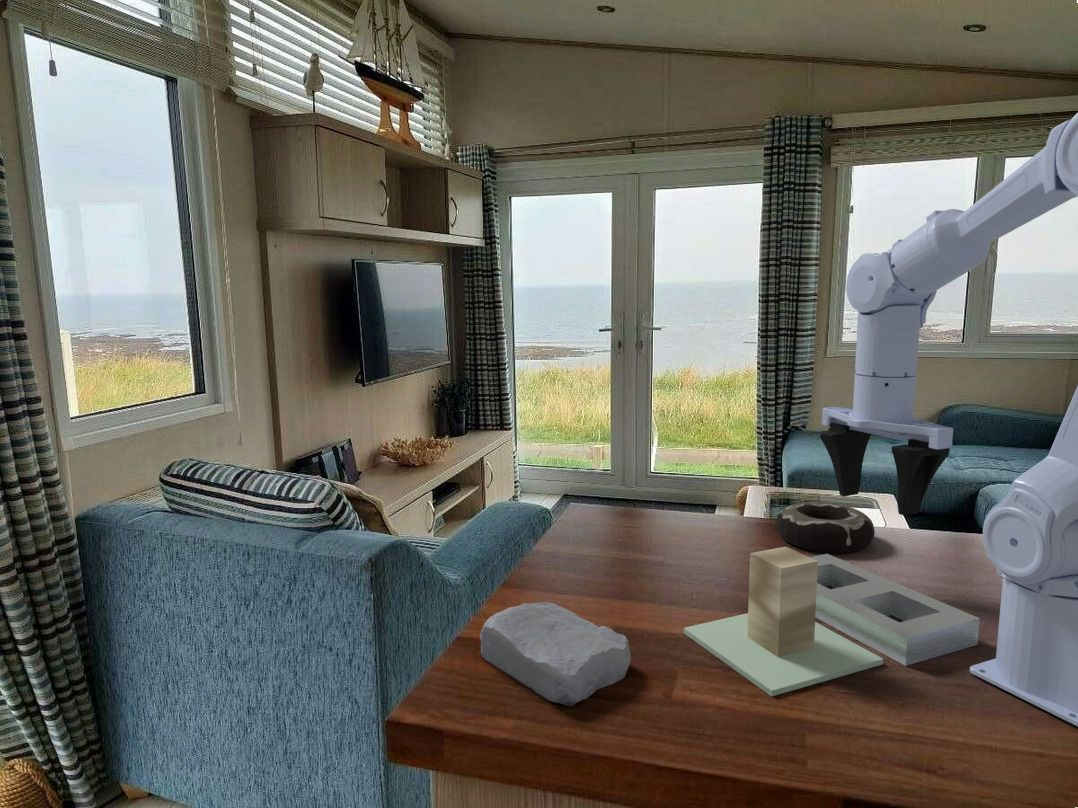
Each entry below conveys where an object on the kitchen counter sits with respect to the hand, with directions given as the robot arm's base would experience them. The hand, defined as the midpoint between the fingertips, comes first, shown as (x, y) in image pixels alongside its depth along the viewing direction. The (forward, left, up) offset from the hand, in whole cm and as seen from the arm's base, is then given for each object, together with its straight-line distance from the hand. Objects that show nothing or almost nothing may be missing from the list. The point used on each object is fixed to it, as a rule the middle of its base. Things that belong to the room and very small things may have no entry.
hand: (877, 503), depth 77 cm
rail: (-4, +6, -9) cm, 12 cm away
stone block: (0, +37, -10) cm, 38 cm away
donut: (+14, -7, -10) cm, 18 cm away
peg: (-6, +18, -9) cm, 21 cm away
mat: (-6, +18, -9) cm, 21 cm away
